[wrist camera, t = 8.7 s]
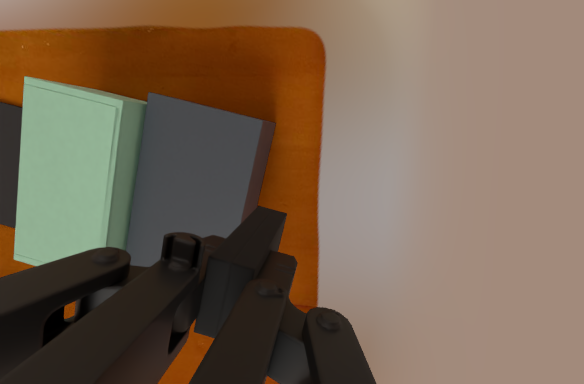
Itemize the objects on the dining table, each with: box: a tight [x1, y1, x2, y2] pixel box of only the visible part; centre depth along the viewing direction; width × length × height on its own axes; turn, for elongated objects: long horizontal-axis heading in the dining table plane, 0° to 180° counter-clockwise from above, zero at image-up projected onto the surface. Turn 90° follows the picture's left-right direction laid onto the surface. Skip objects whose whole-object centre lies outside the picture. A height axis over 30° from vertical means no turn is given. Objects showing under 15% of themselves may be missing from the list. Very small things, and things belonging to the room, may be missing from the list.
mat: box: [0, 102, 23, 228], centre depth 36 cm, size 14×31×1 cm, turn 76°
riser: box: [126, 92, 276, 267], centre depth 31 cm, size 18×10×6 cm, turn 166°
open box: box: [14, 76, 147, 266], centre depth 30 cm, size 16×8×8 cm
